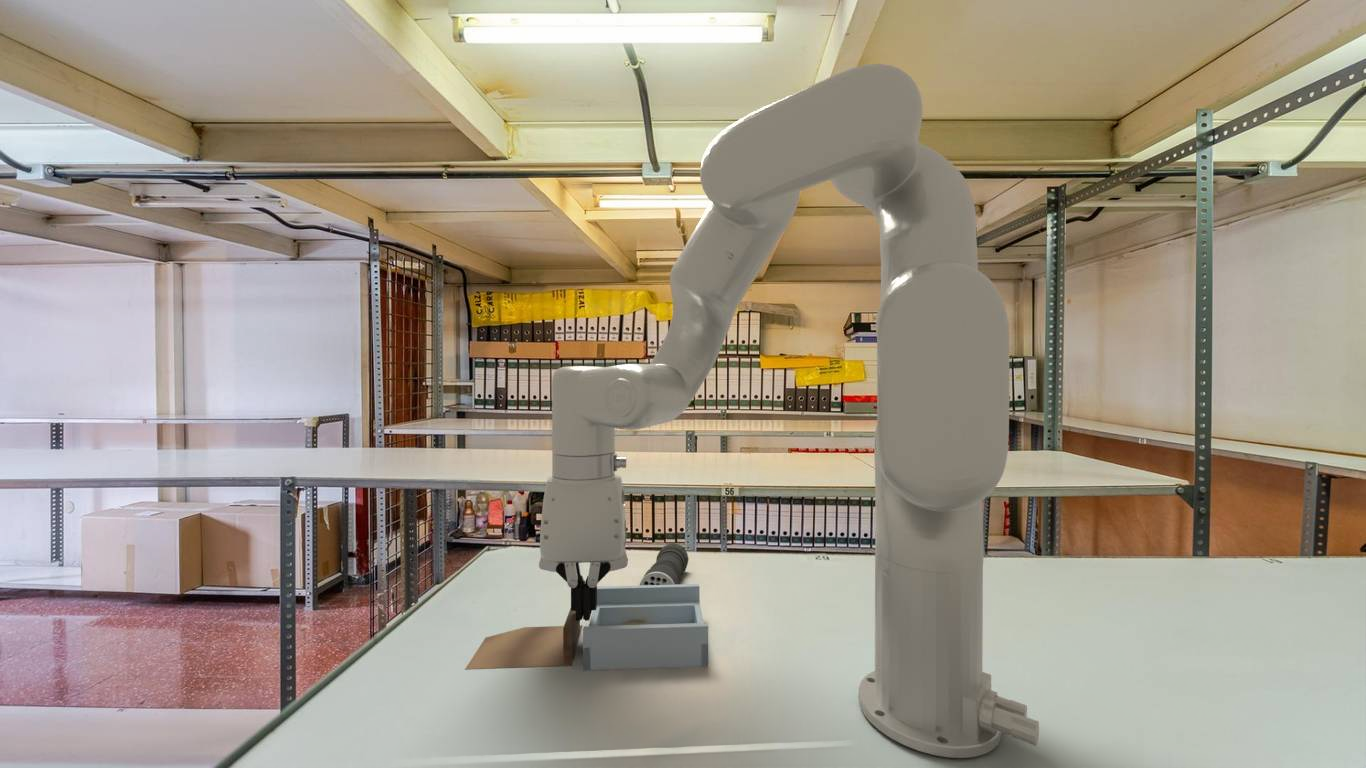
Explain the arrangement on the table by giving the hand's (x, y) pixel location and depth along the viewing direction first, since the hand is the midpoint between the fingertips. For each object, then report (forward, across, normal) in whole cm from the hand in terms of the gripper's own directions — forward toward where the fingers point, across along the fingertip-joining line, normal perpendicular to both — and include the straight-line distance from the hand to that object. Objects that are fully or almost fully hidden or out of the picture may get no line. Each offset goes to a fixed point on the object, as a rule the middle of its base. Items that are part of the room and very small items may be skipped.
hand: (584, 615), depth 64 cm
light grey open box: (+4, -8, 0) cm, 9 cm away
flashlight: (+4, -10, -17) cm, 20 cm away
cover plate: (+5, +7, 0) cm, 8 cm away
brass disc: (+3, -6, -1) cm, 7 cm away
